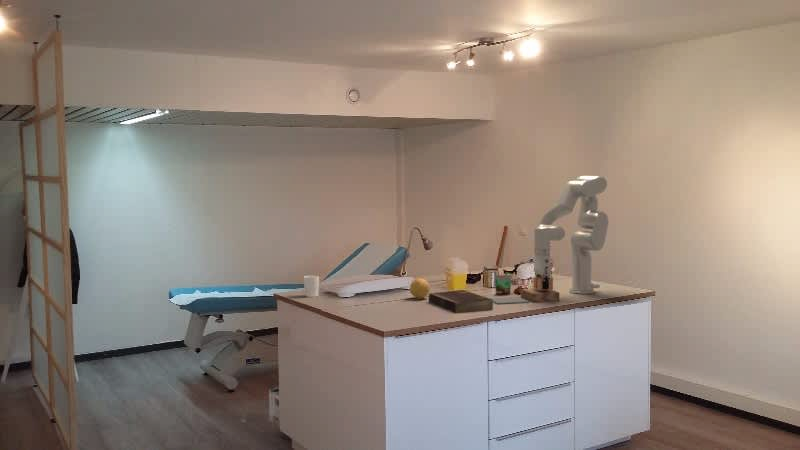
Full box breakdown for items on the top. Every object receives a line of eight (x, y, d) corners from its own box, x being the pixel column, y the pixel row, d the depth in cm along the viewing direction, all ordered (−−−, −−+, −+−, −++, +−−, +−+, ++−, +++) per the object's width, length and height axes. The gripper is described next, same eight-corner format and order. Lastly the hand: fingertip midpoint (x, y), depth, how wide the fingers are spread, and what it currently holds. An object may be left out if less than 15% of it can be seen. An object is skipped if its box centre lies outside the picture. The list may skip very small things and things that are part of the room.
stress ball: (428, 298, 363) (415, 284, 367) (436, 285, 357) (423, 271, 361) (415, 304, 356) (402, 290, 360) (423, 291, 350) (410, 277, 354)
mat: (518, 297, 358) (518, 296, 358) (529, 302, 346) (529, 301, 346) (487, 299, 355) (487, 298, 355) (497, 304, 342) (497, 303, 342)
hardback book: (428, 302, 350) (428, 292, 349) (463, 299, 357) (463, 289, 357) (456, 313, 323) (456, 302, 323) (492, 310, 330) (492, 299, 330)
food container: (505, 295, 365) (505, 276, 364) (494, 294, 368) (494, 275, 367) (516, 292, 374) (516, 273, 374) (506, 291, 378) (506, 272, 377)
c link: (546, 287, 360) (546, 276, 359) (552, 289, 353) (552, 278, 352) (533, 287, 358) (533, 276, 358) (539, 290, 351) (539, 279, 351)
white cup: (320, 294, 372) (320, 275, 371) (317, 297, 364) (317, 277, 363) (305, 294, 372) (305, 275, 372) (302, 297, 365) (301, 277, 364)
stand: (546, 295, 364) (546, 279, 363) (559, 300, 350) (559, 283, 350) (520, 297, 360) (520, 280, 360) (532, 302, 347) (532, 285, 346)
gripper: (557, 253, 346) (557, 290, 348) (541, 249, 363) (541, 284, 365) (542, 254, 345) (542, 291, 346) (527, 250, 361) (527, 285, 363)
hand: (542, 287), depth 355 cm, fingers closed on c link, 7 cm apart
